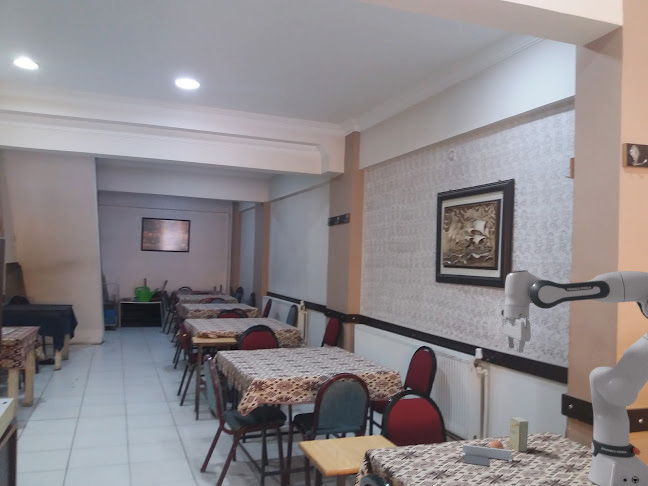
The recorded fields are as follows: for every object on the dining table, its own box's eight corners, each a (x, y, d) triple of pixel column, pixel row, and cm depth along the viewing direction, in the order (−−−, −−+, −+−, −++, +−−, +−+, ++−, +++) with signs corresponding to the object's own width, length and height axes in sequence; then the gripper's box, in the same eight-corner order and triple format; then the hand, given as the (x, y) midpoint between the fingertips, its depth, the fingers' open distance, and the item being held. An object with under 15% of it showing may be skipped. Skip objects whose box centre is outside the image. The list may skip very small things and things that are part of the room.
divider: (510, 457, 200) (510, 448, 201) (511, 462, 196) (511, 453, 196) (462, 451, 205) (462, 442, 205) (462, 456, 200) (462, 446, 200)
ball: (502, 452, 206) (503, 439, 207) (503, 456, 202) (504, 443, 202) (489, 450, 208) (489, 437, 208) (490, 454, 203) (490, 441, 203)
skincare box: (508, 446, 213) (509, 416, 214) (517, 445, 215) (518, 416, 215) (518, 452, 207) (519, 421, 208) (528, 451, 209) (528, 420, 209)
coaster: (488, 458, 199) (488, 457, 199) (489, 466, 191) (489, 465, 191) (464, 454, 202) (464, 454, 202) (464, 463, 193) (464, 462, 193)
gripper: (535, 316, 184) (534, 355, 183) (515, 311, 204) (514, 346, 204) (518, 315, 184) (517, 354, 183) (499, 310, 204) (498, 345, 204)
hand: (515, 350), depth 194 cm, fingers open, 8 cm apart
